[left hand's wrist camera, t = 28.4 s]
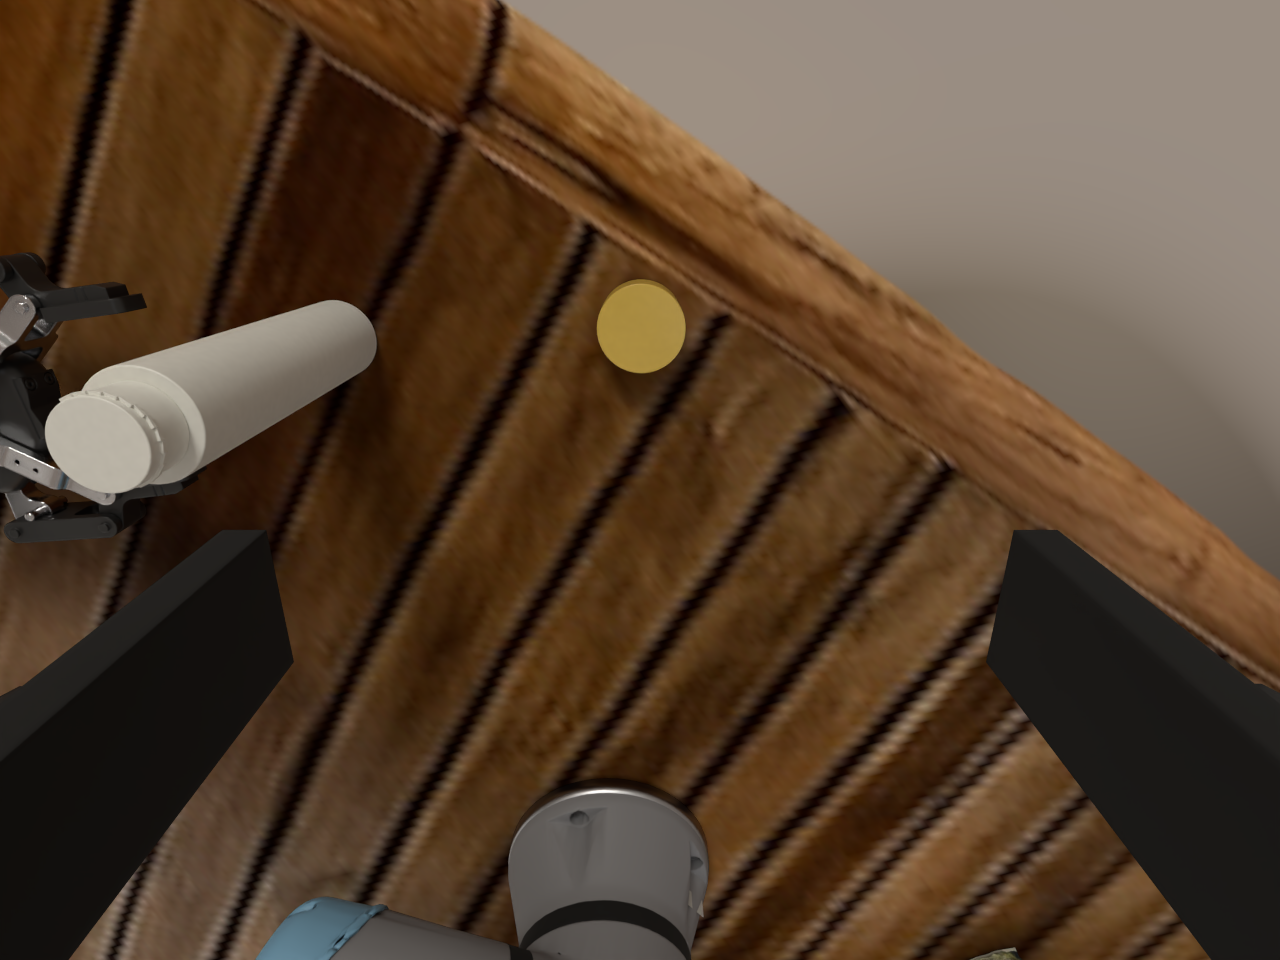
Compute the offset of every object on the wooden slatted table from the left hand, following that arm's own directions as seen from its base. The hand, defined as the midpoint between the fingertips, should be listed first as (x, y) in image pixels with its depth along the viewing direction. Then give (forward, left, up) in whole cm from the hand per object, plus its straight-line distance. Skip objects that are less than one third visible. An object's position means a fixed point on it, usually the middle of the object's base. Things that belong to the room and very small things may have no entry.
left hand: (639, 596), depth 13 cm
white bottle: (-9, +15, -30) cm, 35 cm away
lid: (0, 0, -28) cm, 28 cm away
